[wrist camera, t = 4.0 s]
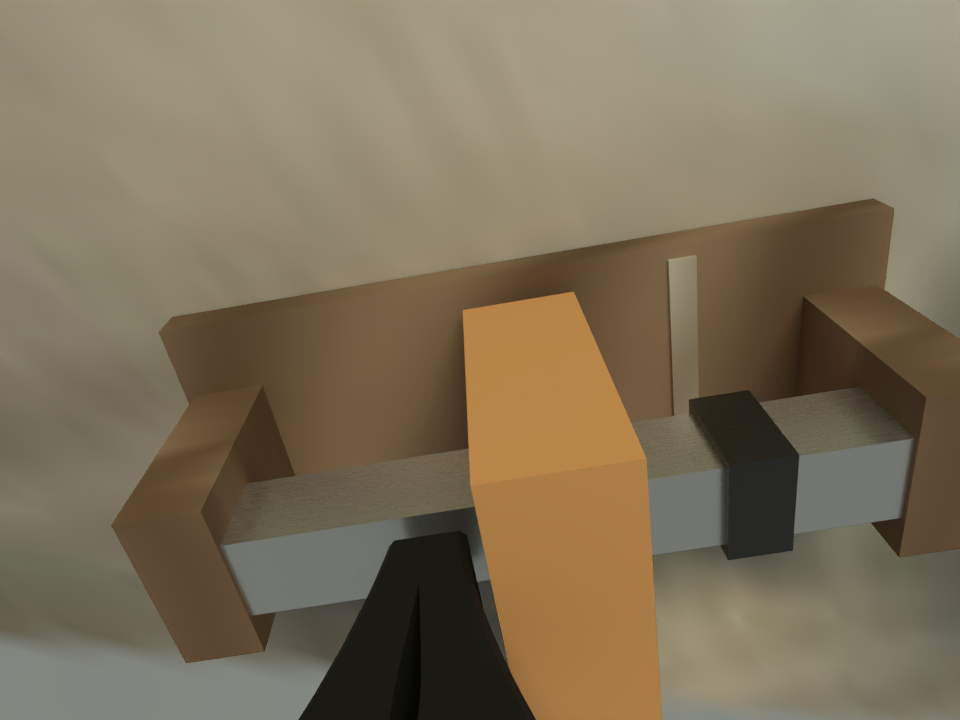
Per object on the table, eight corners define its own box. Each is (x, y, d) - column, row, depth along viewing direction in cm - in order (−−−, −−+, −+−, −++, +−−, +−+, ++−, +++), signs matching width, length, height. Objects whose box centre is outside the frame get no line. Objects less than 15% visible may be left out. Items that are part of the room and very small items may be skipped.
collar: (574, 291, 14) (646, 458, 9) (596, 508, 17) (662, 733, 12) (462, 309, 15) (471, 485, 9) (503, 523, 17) (526, 752, 12)
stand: (873, 198, 15) (1061, 284, 10) (845, 454, 18) (979, 606, 14) (172, 317, 16) (56, 448, 11) (265, 544, 19) (205, 717, 14)
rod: (936, 360, 13) (1020, 420, 11) (921, 450, 14) (995, 519, 12) (169, 481, 14) (125, 559, 12) (207, 560, 15) (171, 643, 13)
